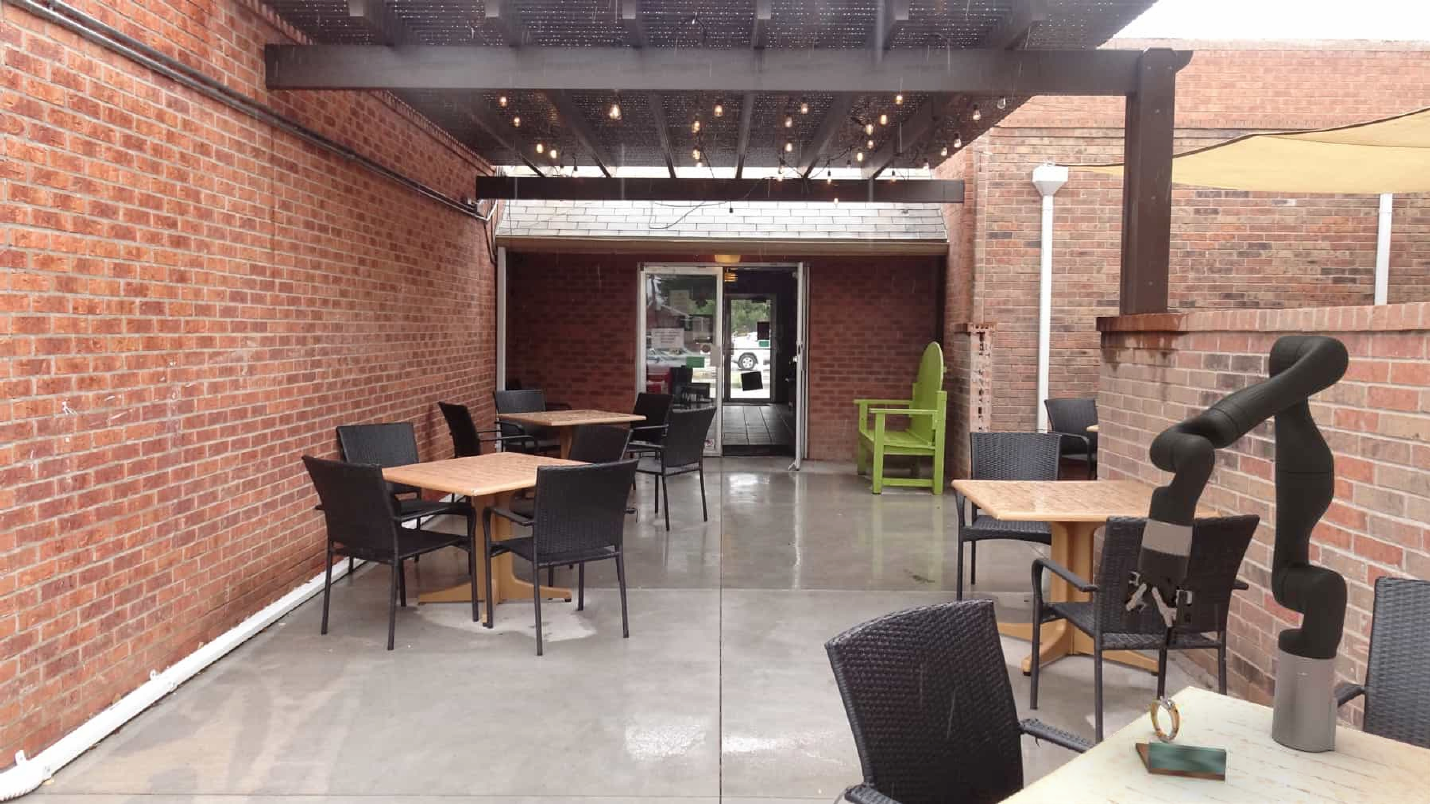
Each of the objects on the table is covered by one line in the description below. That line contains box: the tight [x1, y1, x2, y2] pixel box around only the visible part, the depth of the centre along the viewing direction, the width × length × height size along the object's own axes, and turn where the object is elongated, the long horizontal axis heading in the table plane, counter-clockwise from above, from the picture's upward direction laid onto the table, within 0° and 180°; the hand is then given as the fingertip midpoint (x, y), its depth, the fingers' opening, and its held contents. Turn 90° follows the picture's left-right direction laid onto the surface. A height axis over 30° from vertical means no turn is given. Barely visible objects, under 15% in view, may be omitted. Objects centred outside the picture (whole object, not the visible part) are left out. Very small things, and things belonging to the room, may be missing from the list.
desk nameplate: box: [1135, 741, 1228, 782], centre depth 168 cm, size 12×10×5 cm
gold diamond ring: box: [1149, 695, 1181, 741], centre depth 177 cm, size 7×3×8 cm, turn 5°
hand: (1149, 640), depth 165 cm, fingers open, 8 cm apart
